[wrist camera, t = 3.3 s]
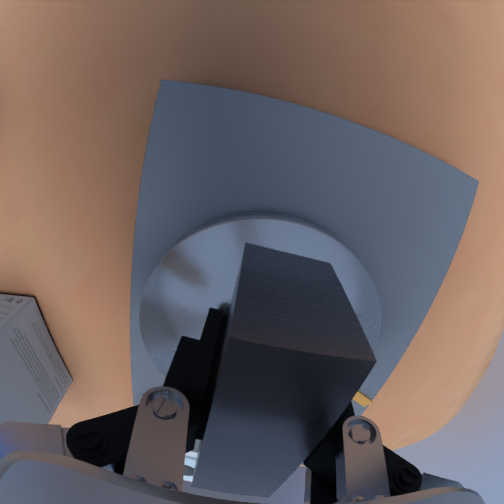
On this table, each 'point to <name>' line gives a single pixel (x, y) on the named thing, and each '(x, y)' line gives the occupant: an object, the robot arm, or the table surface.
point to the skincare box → (28, 364)
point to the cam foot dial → (265, 339)
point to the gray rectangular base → (298, 203)
